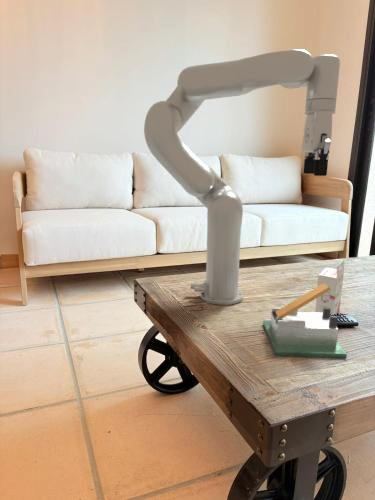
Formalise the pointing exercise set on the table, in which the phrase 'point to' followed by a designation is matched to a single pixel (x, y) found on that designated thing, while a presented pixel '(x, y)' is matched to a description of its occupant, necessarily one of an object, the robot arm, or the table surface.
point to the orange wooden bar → (302, 300)
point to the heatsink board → (304, 348)
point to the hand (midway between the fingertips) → (314, 174)
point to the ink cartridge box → (331, 289)
